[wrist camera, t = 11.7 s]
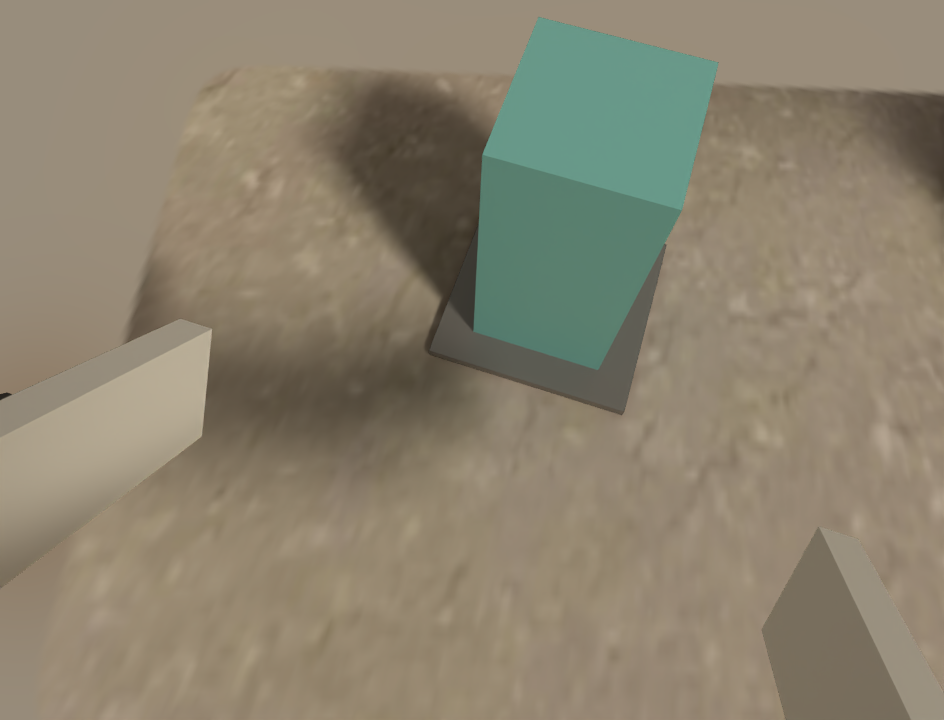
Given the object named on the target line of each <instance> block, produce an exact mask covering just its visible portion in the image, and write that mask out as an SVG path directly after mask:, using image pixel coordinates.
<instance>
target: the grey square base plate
mask: <svg viewBox="0 0 944 720" xmlns="http://www.w3.org/2000/svg"><path fill="white" fill-rule="evenodd" d="M478 231H479V224H478V227H477V229H476V232H475V234H474V237H473V239H472V242H471V245H470V247H469V250H468V252H467V255H466V257H465V260H464V262H463V265H462V268H461V270H460V273H459V275H458V278H457V280H456V283H455V285H454V288H453V291H452V293H451V296H450V298H449V301H448V303H447V306H446V308H445V311H444V314H443V316H442V319H441V321H440V324H439V326H438V329H437V331H436V334H435V337H434V339H433V342H432V344H431V347H430V349H429V354H430V355H433V356H436V357H439V358H442V359H446V360H449V361H452V362H455V363H458V364H462V365H465V366H468V367H471V368H474V369H477V370H481V371H484V372H487V373H490V374H493V375H496V376H500V377H503V378H506V379H509V380H512V381H516V382H519V383H522V384H525V385H528V386H531V387H535V388H538V389H541V390H544V391H547V392H550V393H554V394H557V395H560V396H563V397H566V398H569V399H573V400H576V401H579V402H582V403H585V404H589V405H592V406H595V407H598V408H601V409H604V410H608V411H611V412H614V413H617V414H620V415H622V414H623V413H624V411H625V407H626V403H627V399H628V395H629V391H630V387H631V383H632V379H633V375H634V371H635V367H636V363H637V359H638V355H639V352H640V348H641V344H642V340H643V336H644V332H645V328H646V324H647V320H648V316H649V312H650V308H651V304H652V300H653V296H654V292H655V288H656V284H657V280H658V277H659V273H660V269H661V265H662V261H663V257H664V253H665V249H666V244H664V245H663V247H662V249H661V251H660V253H659V255H658V257H657V259H656V261H655V263H654V264H653V266H652V268H651V270H650V272H649V274H648V276H647V278H646V280H645V282H644V284H643V285H642V287H641V289H640V291H639V293H638V295H637V297H636V299H635V301H634V303H633V304H632V306H631V308H630V310H629V312H628V314H627V316H626V318H625V320H624V322H623V324H622V325H621V327H620V329H619V331H618V333H617V335H616V337H615V339H614V341H613V343H612V345H611V346H610V348H609V350H608V352H607V354H606V356H605V358H604V360H603V362H602V364H601V365H600V367H599V369H598V370H596V369H593V368H589V367H586V366H583V365H580V364H576V363H573V362H570V361H567V360H563V359H560V358H557V357H554V356H551V355H547V354H544V353H541V352H538V351H534V350H531V349H528V348H525V347H521V346H518V345H515V344H512V343H508V342H505V341H502V340H499V339H496V338H492V337H489V336H486V335H483V334H479V333H476V332H473V330H474V310H475V290H476V270H477V250H478Z"/></svg>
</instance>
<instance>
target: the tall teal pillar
mask: <svg viewBox="0 0 944 720" xmlns="http://www.w3.org/2000/svg"><path fill="white" fill-rule="evenodd" d="M717 67H718V62H714V61H711V60H706V59H703V58H698V57H695V56H691V55H687V54H683V53H679V52H675V51H671V50H667V49H663V48H659V47H655V46H651V45H647V44H643V43H639V42H635V41H632V40H627V39H624V38H619V37H616V36H612V35H608V34H604V33H600V32H596V31H591V30H588V29H584V28H580V27H576V26H572V25H568V24H564V23H560V22H556V21H553V20H548V19H545V18H541V17H539V18H538V20H537V22H536V25H535V27H534V30H533V32H532V35H531V37H530V39H529V42H528V44H527V47H526V49H525V52H524V54H523V56H522V59H521V61H520V64H519V66H518V69H517V71H516V74H515V76H514V78H513V81H512V83H511V86H510V88H509V91H508V93H507V96H506V98H505V100H504V103H503V105H502V108H501V110H500V113H499V115H498V118H497V120H496V122H495V125H494V127H493V130H492V132H491V135H490V137H489V140H488V142H487V144H486V147H485V149H484V152H483V154H482V171H481V191H480V211H479V231H478V250H477V270H476V290H475V310H474V330H473V332H476V333H479V334H483V335H486V336H489V337H492V338H496V339H499V340H502V341H505V342H508V343H512V344H515V345H518V346H521V347H525V348H528V349H531V350H534V351H538V352H541V353H544V354H547V355H551V356H554V357H557V358H560V359H563V360H567V361H570V362H573V363H576V364H580V365H583V366H586V367H589V368H593V369H596V370H598V369H599V367H600V365H601V364H602V362H603V360H604V358H605V356H606V354H607V352H608V350H609V348H610V346H611V345H612V343H613V341H614V339H615V337H616V335H617V333H618V331H619V329H620V327H621V325H622V324H623V322H624V320H625V318H626V316H627V314H628V312H629V310H630V308H631V306H632V304H633V303H634V301H635V299H636V297H637V295H638V293H639V291H640V289H641V287H642V285H643V284H644V282H645V280H646V278H647V276H648V274H649V272H650V270H651V268H652V266H653V264H654V263H655V261H656V259H657V257H658V255H659V253H660V251H661V249H662V247H663V245H664V243H665V242H666V240H667V238H668V236H669V234H670V232H671V230H672V228H673V226H674V224H675V223H676V221H677V219H678V217H679V215H680V213H681V211H682V208H683V204H684V200H685V196H686V192H687V188H688V184H689V180H690V176H691V172H692V168H693V164H694V160H695V156H696V152H697V148H698V144H699V140H700V136H701V132H702V128H703V124H704V120H705V116H706V112H707V108H708V104H709V99H710V95H711V91H712V87H713V83H714V79H715V75H716V71H717Z"/></svg>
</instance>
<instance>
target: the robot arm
mask: <svg viewBox="0 0 944 720" xmlns="http://www.w3.org/2000/svg"><path fill="white" fill-rule="evenodd" d="M211 335H212V329H211V328H208V327H205V326H202V325H199V324H196V323H192V322H189V321H186V320H183V319H178V320H176V321H174V322H172V323H170V324H167V325H165V326H163V327H161V328H159V329H156V330H154V331H152V332H150V333H148V334H145V335H143V336H141V337H139V338H137V339H134V340H132V341H130V342H128V343H125V344H123V345H121V346H119V347H117V348H115V349H112V350H110V351H108V352H106V353H103V354H101V355H99V356H97V357H95V358H92V359H90V360H88V361H86V362H84V363H81V364H79V365H77V366H75V367H72V368H70V369H68V370H66V371H64V372H61V373H59V374H57V375H55V376H53V377H50V378H48V379H46V380H44V381H42V382H40V383H37V384H35V385H33V386H31V387H28V388H26V389H24V390H22V391H19V392H18V393H15V394H13V395H12V394H10V393H3V394H0V588H2V587H3V586H4V585H6V584H7V583H8V582H10V581H11V580H12V579H14V578H15V577H16V576H18V575H19V574H20V573H22V572H23V571H24V570H26V569H27V568H28V567H29V566H31V565H32V564H34V563H35V562H36V561H38V560H39V559H40V558H42V557H43V556H44V555H45V554H47V553H48V552H49V551H51V550H52V549H53V548H55V547H56V546H57V545H59V544H60V543H61V542H63V541H64V540H65V539H67V538H68V537H69V536H71V535H72V534H73V533H75V532H76V531H77V530H79V529H80V528H81V527H83V526H84V525H85V524H87V523H88V522H89V521H91V520H92V519H93V518H94V517H96V516H97V515H98V514H100V513H101V512H102V511H104V510H105V509H106V508H108V507H109V506H110V505H112V504H113V503H114V502H116V501H117V500H118V499H120V498H121V497H122V496H124V495H125V494H126V493H128V492H129V491H130V490H132V489H133V488H134V487H136V486H137V485H138V484H140V483H141V482H142V481H143V480H145V479H146V478H147V477H149V476H150V475H151V474H153V473H154V472H155V471H157V470H158V469H159V468H161V467H162V466H163V465H165V464H166V463H167V462H169V461H170V460H171V459H173V458H174V457H175V456H177V455H178V454H179V453H181V452H182V451H183V450H185V449H186V448H187V447H189V446H190V445H191V444H192V443H194V442H195V441H196V440H198V439H199V438H200V437H202V430H203V420H204V409H205V399H206V388H207V378H208V367H209V357H210V346H211ZM762 633H763V637H764V641H765V645H766V648H767V652H768V656H769V659H770V663H771V667H772V671H773V674H774V678H775V682H776V685H777V689H778V693H779V697H780V700H781V704H782V708H783V712H784V715H785V719H786V720H944V692H943V690H942V689H941V687H940V685H939V683H938V681H937V680H936V678H935V676H934V674H933V672H932V671H931V669H930V667H929V665H928V663H927V662H926V660H925V658H924V656H923V654H922V653H921V651H920V649H919V647H918V645H917V644H916V642H915V640H914V638H913V636H912V635H911V633H910V631H909V629H908V627H907V626H906V624H905V622H904V620H903V618H902V617H901V615H900V613H899V611H898V609H897V608H896V606H895V604H894V602H893V600H892V599H891V597H890V595H889V593H888V591H887V590H886V588H885V586H884V584H883V582H882V581H881V579H880V577H879V575H878V573H877V572H876V570H875V568H874V566H873V565H872V563H871V561H870V559H869V557H868V556H867V554H866V552H865V550H864V548H863V547H862V545H861V543H860V541H859V539H857V538H854V537H851V536H847V535H844V534H841V533H838V532H835V531H832V530H829V529H826V528H823V527H820V526H819V527H818V528H817V530H816V532H815V534H814V536H813V537H812V539H811V541H810V543H809V545H808V547H807V548H806V550H805V552H804V554H803V556H802V557H801V559H800V561H799V563H798V565H797V566H796V568H795V570H794V572H793V574H792V575H791V577H790V579H789V581H788V583H787V584H786V586H785V588H784V590H783V592H782V594H781V595H780V597H779V599H778V601H777V603H776V604H775V606H774V608H773V610H772V612H771V613H770V615H769V617H768V619H767V621H766V622H765V624H764V626H763V628H762Z"/></svg>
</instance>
